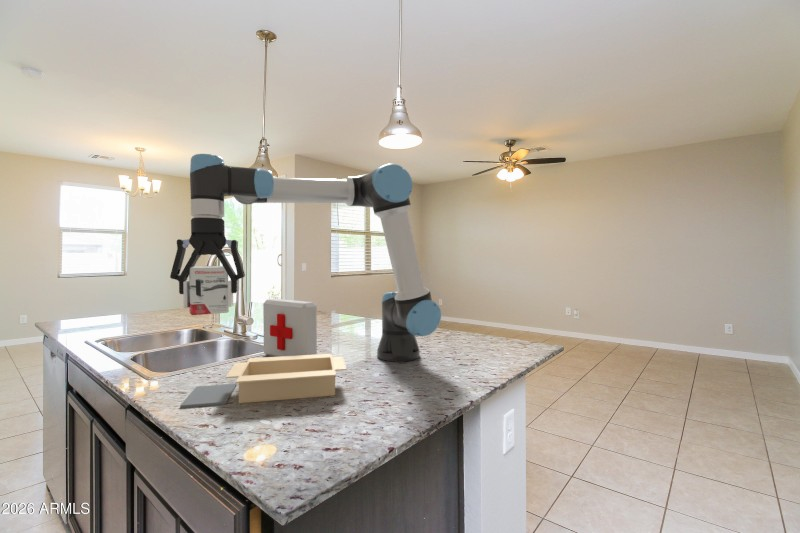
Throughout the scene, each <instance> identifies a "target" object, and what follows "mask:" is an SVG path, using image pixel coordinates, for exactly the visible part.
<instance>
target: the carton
mask: <svg viewBox="0 0 800 533" xmlns="http://www.w3.org/2000/svg"><path fill="white" fill-rule="evenodd" d="M332 354H333V353H317V354H315V355H298V356H280V357H273V356H268V357H267V356H266V357H265V356H264V357H263V356H262V357H250V358H248V359H247V361H246V362H234V364H233V366H232V367H231V369H230V370H229V371H228V373H227V375H226V376H225V379H235V378H237V379H236V381H235V384H238V404H247V403H255V402H256V403H257V402H259V403H260V402H268V401H269V402H270V401H282V400H283V401H284V400H294V399H306V398H307V399H308V398H317V397H318V398H320V397H330V396H336V376H337V371H338V372H339V371H347V366H346V362H345V359H344V357H343V356H333V355H332Z"/></svg>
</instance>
